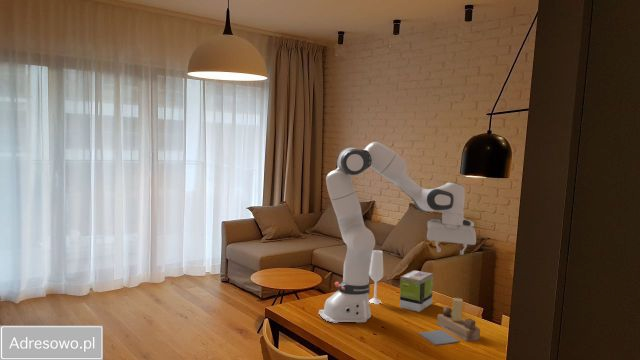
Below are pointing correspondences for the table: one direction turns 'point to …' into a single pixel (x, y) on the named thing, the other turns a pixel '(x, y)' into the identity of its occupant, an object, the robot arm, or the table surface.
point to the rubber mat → (439, 337)
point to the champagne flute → (376, 272)
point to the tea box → (416, 290)
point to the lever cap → (457, 310)
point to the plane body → (458, 326)
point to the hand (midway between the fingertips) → (450, 253)
